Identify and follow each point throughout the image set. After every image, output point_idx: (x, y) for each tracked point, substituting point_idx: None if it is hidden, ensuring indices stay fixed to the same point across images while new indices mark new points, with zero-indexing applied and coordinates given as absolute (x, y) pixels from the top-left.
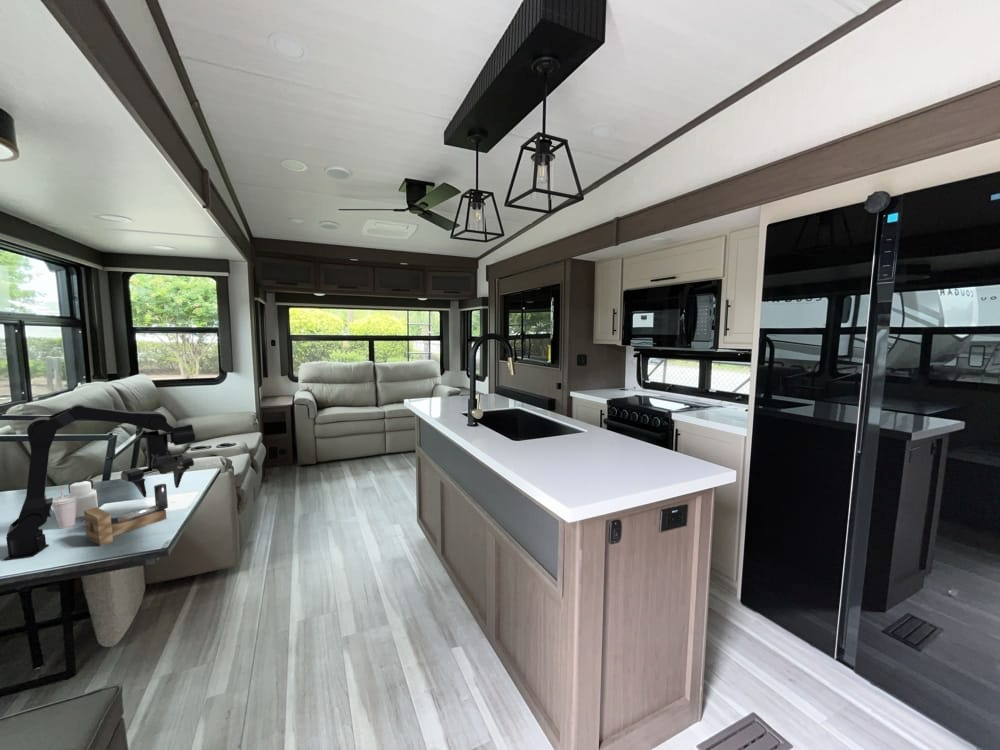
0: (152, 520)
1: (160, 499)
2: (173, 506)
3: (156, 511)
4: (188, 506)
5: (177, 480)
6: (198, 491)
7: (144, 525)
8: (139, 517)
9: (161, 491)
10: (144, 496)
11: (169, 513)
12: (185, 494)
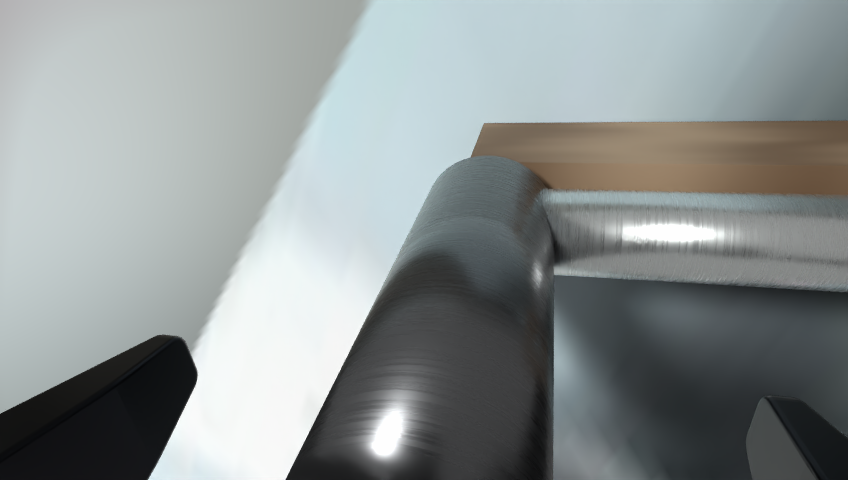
0: (623, 135)
1: (509, 242)
2: (342, 346)
3: None
4: (260, 245)
5: (15, 456)
6: None
7: (707, 125)
8: None
9: (460, 338)
10: (814, 413)
11: None
12: (232, 457)
